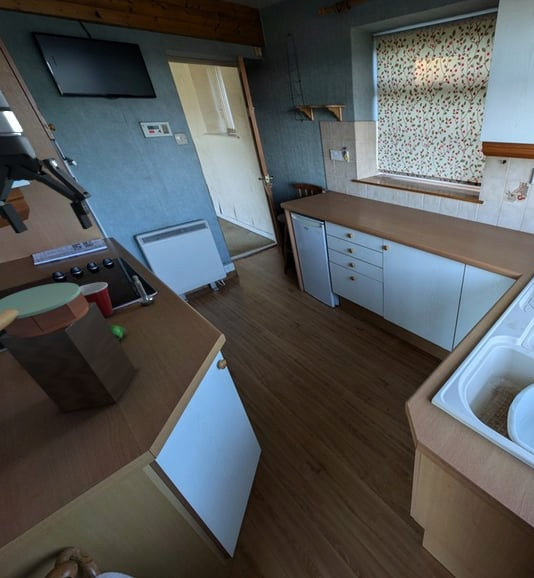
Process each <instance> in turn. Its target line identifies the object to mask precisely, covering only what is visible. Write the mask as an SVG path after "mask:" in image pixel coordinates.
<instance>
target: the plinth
mask: <svg viewBox="0 0 534 578" xmlns="http://www.w3.org/2000/svg"><path fill="white" fill-rule="evenodd" d="M110 326H111V325H109V322H107V320H106V317H105V318H104V316H103V315H102V313H101V311H100V310H99V308H98V306H97V305H96V303H95V302H92V303H88V302H87V300H86V299H85V297H84V296H83V294H82V292H80V294H79V295H78V296H77V297H76V298H74V299H73V300H71V301H70V302H68V303H66V304H64V305H62V306H60V307H57V308H55V309H52V310H50V311H47V312H44V313H40V314H37V315H33V316H29V317H25V318H19V319H16V320H14V321H13V322H12V323H10V324H9V325H8V326H6V327H5V328H3V330H5V331H6V332H5V333H4V334H3V335H1V336H0V343H1V344H2V345H3V347H4V348H5V349H6V351H8V352H9V354H11V355H12V357H13V358H14V359H15V360H16V361H17V362H18V363H19V365H20V366H21V367H22V368H23V369H24V370H25V372H26V373H27V374H28V375H29V376H30V377H31V378H32V380H33V381H34V382H35V383H36V384H37V385H38V387H40V388H41V390H42V391H43V392H44V393H45V394H46V396H48V397H49V399H50V400H51V401H52V402H53V404H55V406H56V407H57V408H58V409H59V410H60V411H61V412H62V413H64V412H65V413H67V412H71V411H77V410H82V409H89V408H94V407H99V406H105V405H111V404H116V403H117V402H118V400H119V398H120V397H121V396H122V394H123V393H124V391H125V389H126V387H127V386H128V384H129V383H130V381H131V379H132V378H133V376H134V374H135V372H136V371H137V370H136V368H135V366H134V365H133V363H132V361H131V360H130V358H129V356H128V355H127V353H126V351H125V350H124V348H123V346H122V345H121V343H120V340H119V341H118V340H117V338H116V336H115V335H114V333H113V331H112V330H111V328H110Z"/></svg>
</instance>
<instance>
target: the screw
mask: <svg viewBox="0 0 534 578" xmlns="http://www.w3.org/2000/svg"><path fill="white" fill-rule="evenodd" d="M132 279H133V281H134V285H135V287H136V289H137V291H138V293H139V295H140V298H139V299H138V301H137V302H138V303H139V304H143V306H149V305H151V304H152V300H153V299H154V296H152V295H147V292H146V291H145V288H144V287H143V285H142V282H141V280H139V277H138V276H137V275H133V276H132Z"/></svg>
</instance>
